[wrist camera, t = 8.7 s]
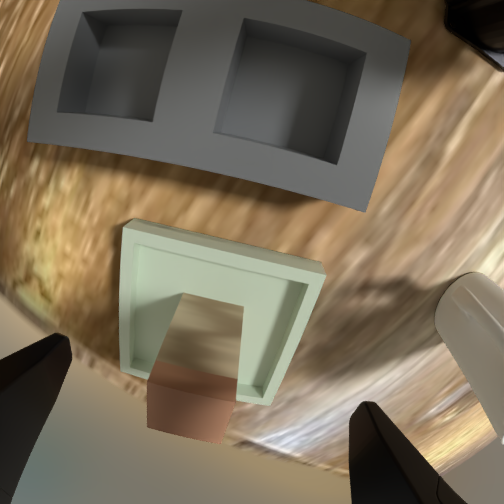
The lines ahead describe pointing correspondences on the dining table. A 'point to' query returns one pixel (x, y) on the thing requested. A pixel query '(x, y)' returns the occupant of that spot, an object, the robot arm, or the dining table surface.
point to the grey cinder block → (225, 89)
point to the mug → (477, 339)
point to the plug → (196, 370)
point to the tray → (217, 288)
